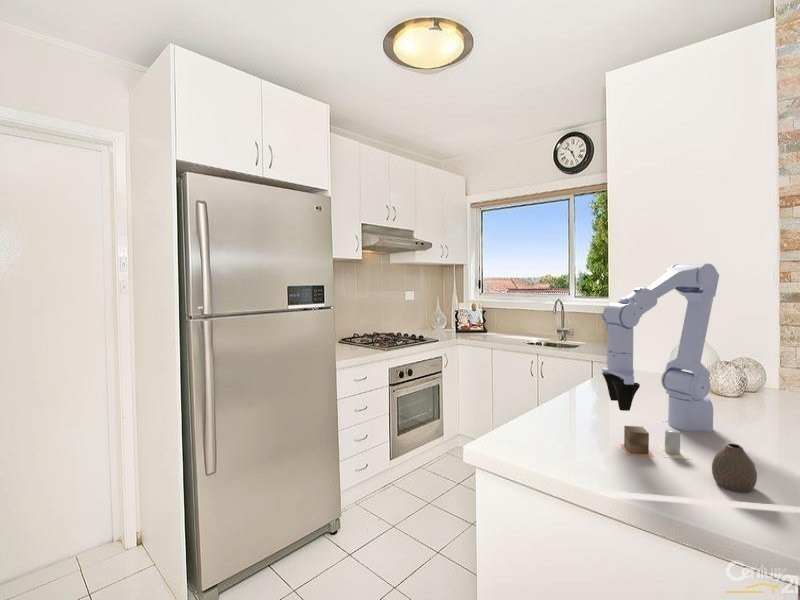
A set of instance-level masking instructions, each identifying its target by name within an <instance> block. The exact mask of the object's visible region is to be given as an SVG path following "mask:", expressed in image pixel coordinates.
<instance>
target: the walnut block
mask: <svg viewBox="0 0 800 600" xmlns="http://www.w3.org/2000/svg"><path fill="white" fill-rule="evenodd" d="M623 429H624V430H623V433H624V434H623V435H624V437H623V441H624V442H623V444H624V446H625V448H626V449H627V450H628V452H629V453H635V454H649V451H650V449H649V448H650V447H649V446H650V445H649V444H650V443H649V440H650V433H649V432H648V430H646V429H645V427H644V426H639V425H638V426H636V425H624V428H623Z"/></svg>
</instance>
